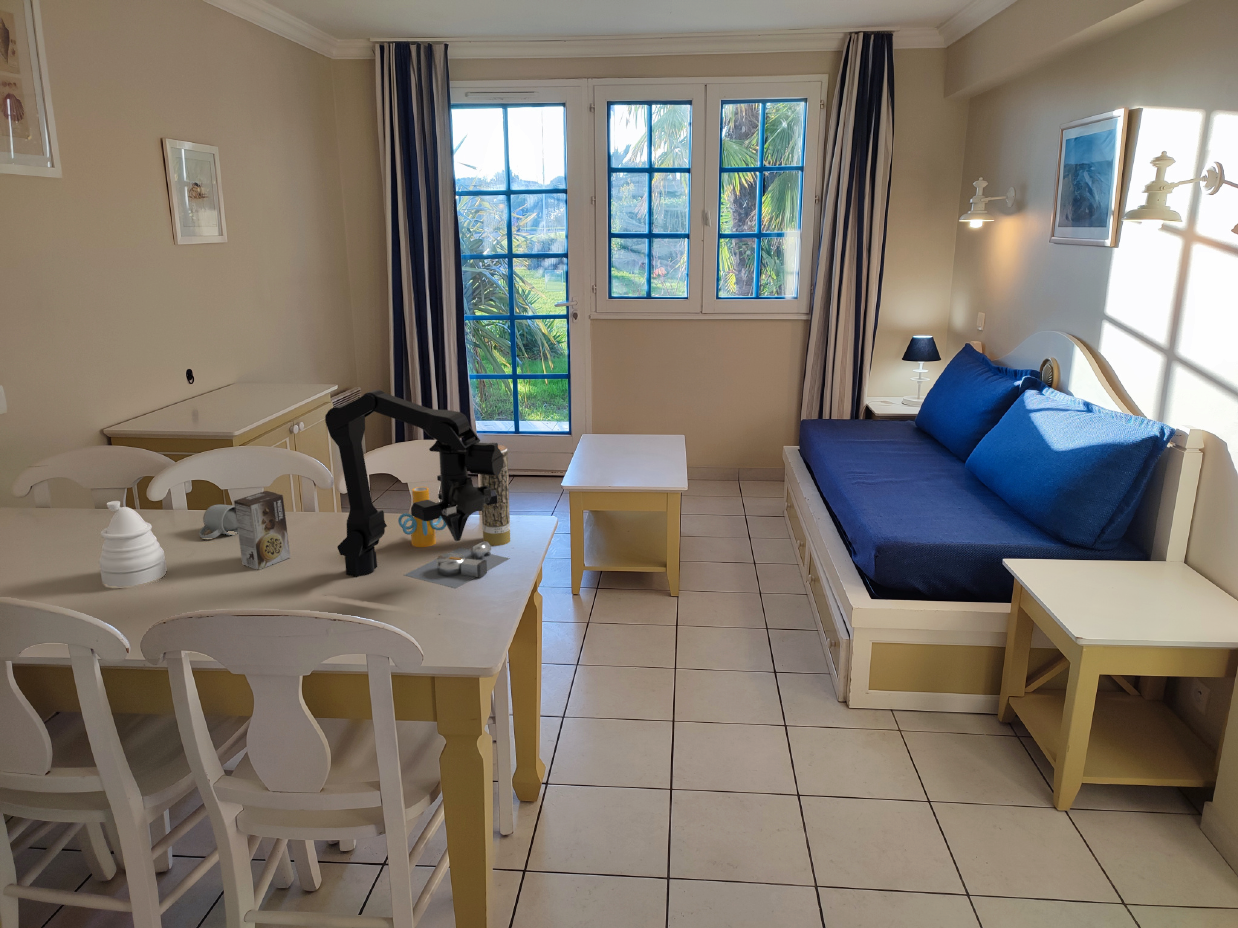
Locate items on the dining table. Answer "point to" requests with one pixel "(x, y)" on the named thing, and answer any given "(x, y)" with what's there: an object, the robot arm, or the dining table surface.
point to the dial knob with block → (460, 565)
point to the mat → (431, 575)
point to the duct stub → (481, 550)
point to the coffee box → (262, 529)
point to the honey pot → (130, 550)
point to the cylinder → (421, 522)
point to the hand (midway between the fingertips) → (457, 540)
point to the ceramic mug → (219, 520)
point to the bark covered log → (497, 506)
